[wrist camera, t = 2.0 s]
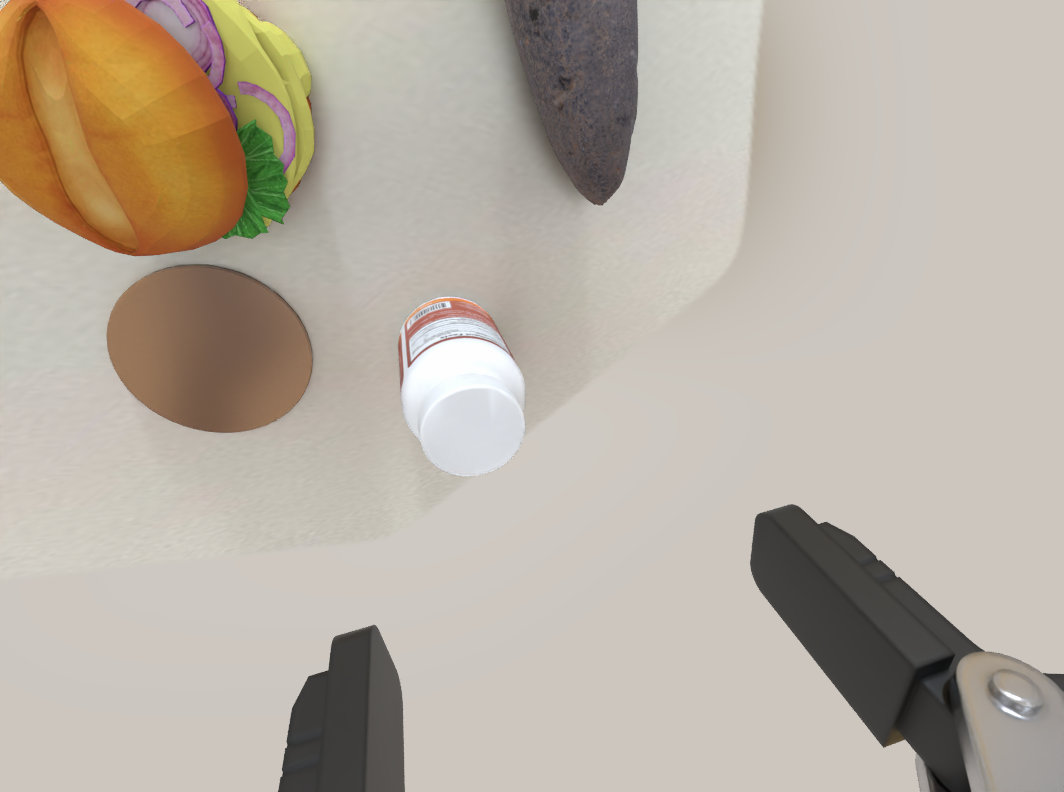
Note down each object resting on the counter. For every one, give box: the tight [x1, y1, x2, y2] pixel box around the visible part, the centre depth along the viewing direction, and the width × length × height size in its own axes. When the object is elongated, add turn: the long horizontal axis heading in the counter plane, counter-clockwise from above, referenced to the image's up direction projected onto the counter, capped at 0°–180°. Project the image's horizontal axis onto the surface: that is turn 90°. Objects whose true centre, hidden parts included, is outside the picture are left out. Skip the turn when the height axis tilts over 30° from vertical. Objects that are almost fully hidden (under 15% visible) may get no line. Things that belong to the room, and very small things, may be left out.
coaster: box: [107, 265, 312, 433], centre depth 29 cm, size 10×10×1 cm
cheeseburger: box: [0, 0, 314, 256], centre depth 21 cm, size 10×11×10 cm
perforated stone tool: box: [505, 0, 638, 205], centre depth 23 cm, size 15×5×7 cm, turn 14°
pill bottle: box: [398, 297, 526, 477], centre depth 27 cm, size 6×6×11 cm
